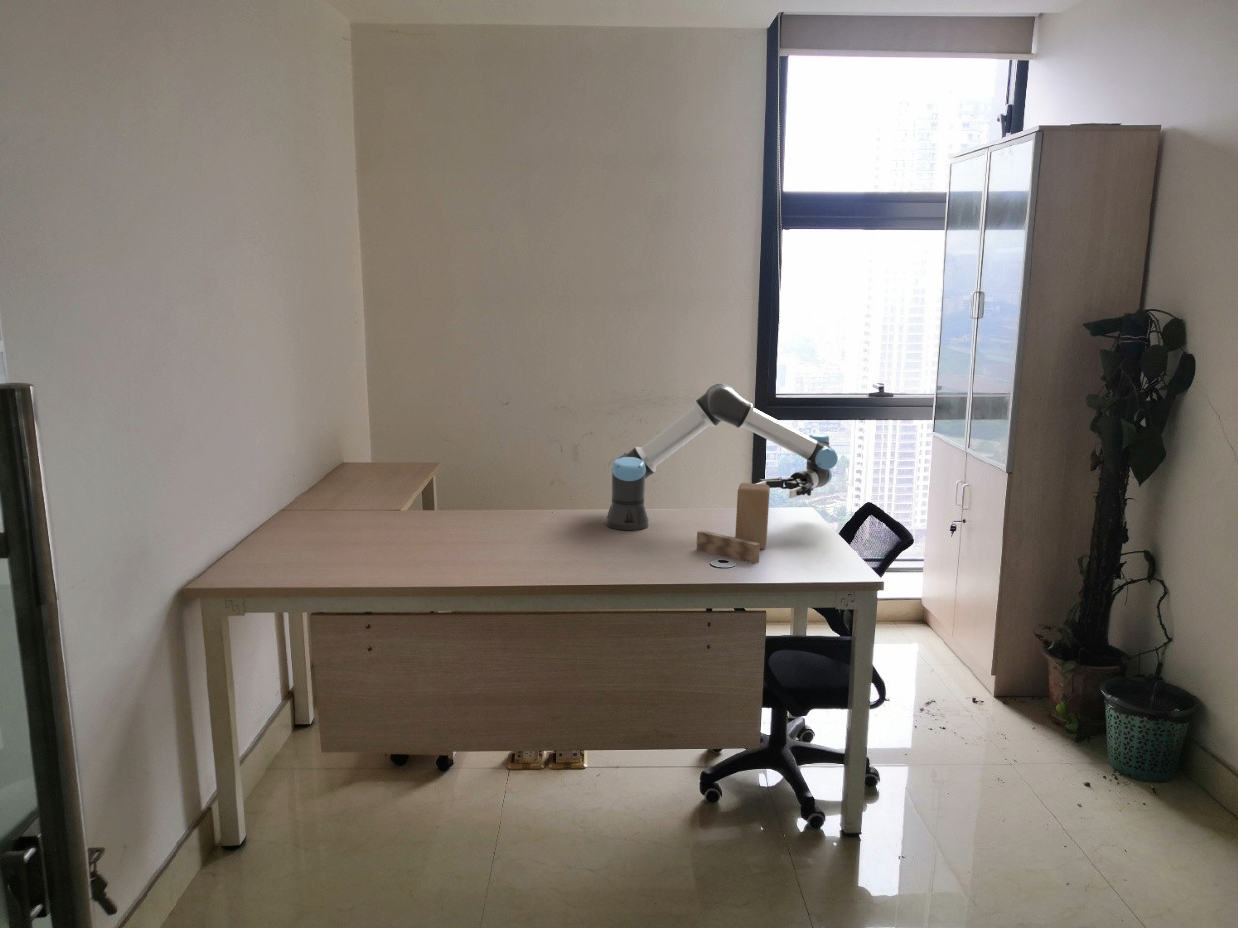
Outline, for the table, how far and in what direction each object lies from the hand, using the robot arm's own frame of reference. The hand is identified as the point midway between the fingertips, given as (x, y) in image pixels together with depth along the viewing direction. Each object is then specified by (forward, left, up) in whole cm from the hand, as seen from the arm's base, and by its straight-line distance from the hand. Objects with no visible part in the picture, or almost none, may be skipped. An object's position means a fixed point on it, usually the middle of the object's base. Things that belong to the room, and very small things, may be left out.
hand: (772, 491), depth 303 cm
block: (0, -12, -17) cm, 20 cm away
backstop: (+1, -28, -16) cm, 32 cm away
